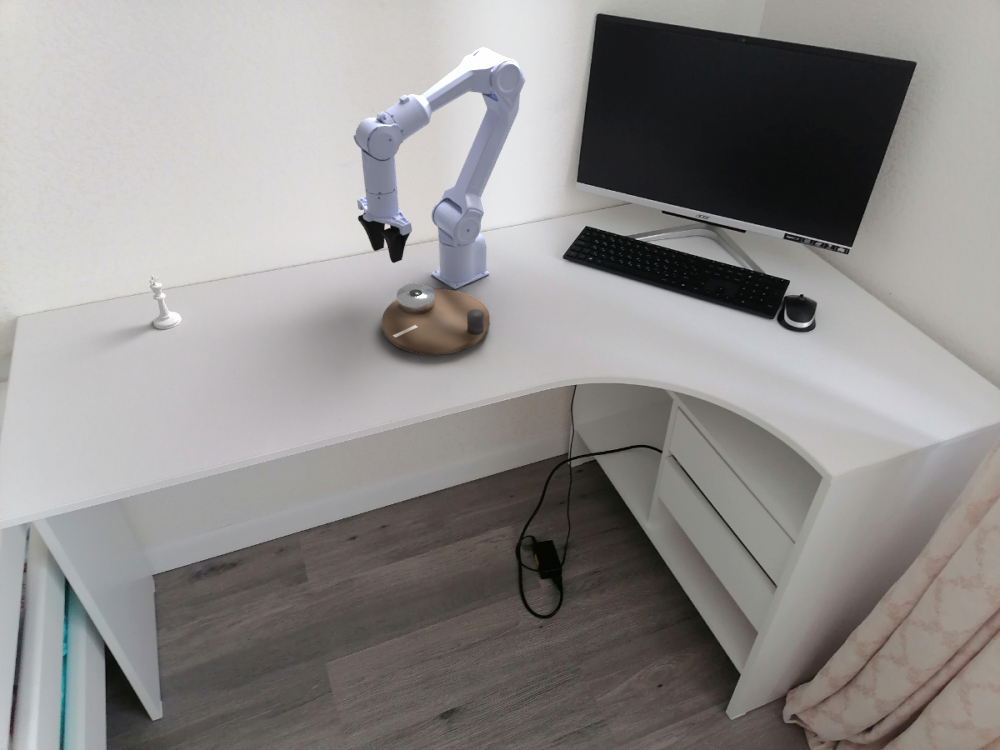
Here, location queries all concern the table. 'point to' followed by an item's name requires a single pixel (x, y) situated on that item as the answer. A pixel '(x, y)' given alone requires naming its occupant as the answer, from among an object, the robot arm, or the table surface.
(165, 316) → the chess piece
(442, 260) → the robot arm
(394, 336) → the turntable
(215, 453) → the table surface
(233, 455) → the table surface
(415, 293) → the cover
